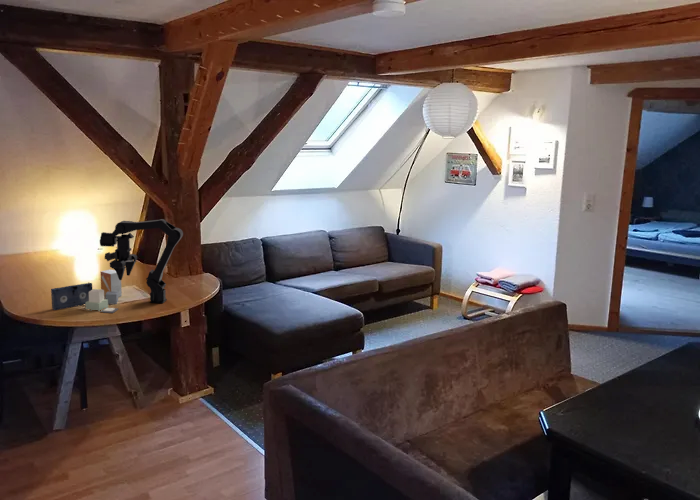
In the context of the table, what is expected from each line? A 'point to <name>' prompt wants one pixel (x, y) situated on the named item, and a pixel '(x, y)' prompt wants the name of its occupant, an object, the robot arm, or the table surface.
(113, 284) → the small box
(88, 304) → the sage block
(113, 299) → the slate cube
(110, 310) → the swatch
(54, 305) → the vhs cassette tape
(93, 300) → the cream cube
